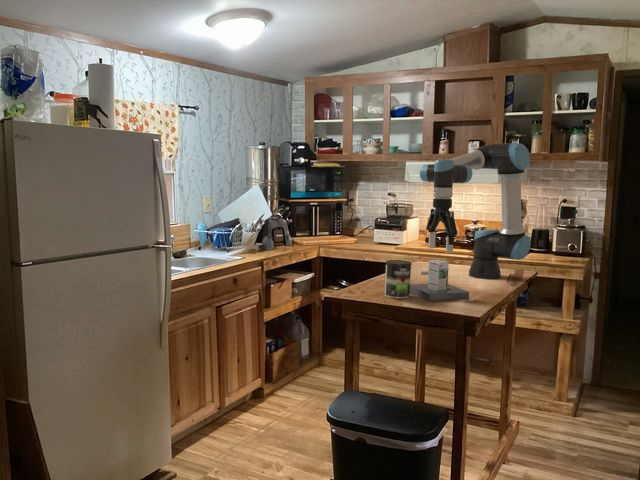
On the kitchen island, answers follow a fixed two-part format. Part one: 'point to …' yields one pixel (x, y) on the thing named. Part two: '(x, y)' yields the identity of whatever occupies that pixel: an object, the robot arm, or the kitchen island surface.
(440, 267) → the syrup box
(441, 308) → the kitchen island surface
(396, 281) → the coffee can
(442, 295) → the square hole plate
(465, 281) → the kitchen island surface
